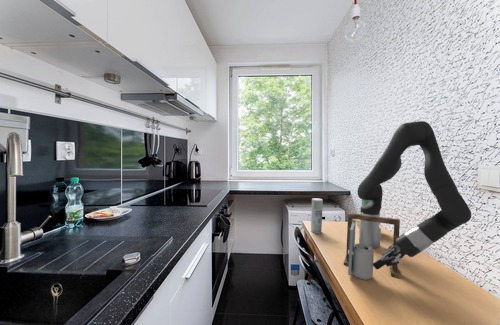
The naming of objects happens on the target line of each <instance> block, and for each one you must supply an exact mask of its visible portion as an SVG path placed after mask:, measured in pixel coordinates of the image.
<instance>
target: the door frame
mask: <svg viewBox="0 0 500 325" xmlns="http://www.w3.org/2000/svg"><path fill="white" fill-rule="evenodd" d="M353 219H358V220H365V221H372V222H379V223H381V224H387V225H393V237H392V238H393V240H392V246H395V245H397V243H396V241H395V239H396V238H398V237H399V236H400V227H401V226H400V225H401V220H400V219H399V218H392V217H386V216H385V217H384V216H380V217H378V216H371V215H363V214H360V213H355V212H347V228H346V229H347V231H346V232H347V233H346V250H345V254H346V255H345V257H344V260H343V265H344V266H348V267H349V254H348V250H349V243H350V228H351V225H352V222H353ZM398 265H399V264H396V265H392V266H389V270H390V271H389V274H390V273H391V274H390V276H391V275H392V276H391V277H395V276H396V278H399V277H400V276H401V274H400V269H399V266H398Z"/></svg>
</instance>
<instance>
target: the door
mask: <svg viewBox="0 0 500 325" xmlns="http://www.w3.org/2000/svg"><path fill="white" fill-rule="evenodd" d="M356 227H357V224H356V221H355V220H353V221H352V225H351V228H350V243H349V250H348V254H349V266H348V268H347V270H348V272H347V275H349V276H352V274H353V273H352V260H353V255H354V251H353V248H354V247H355V245H356V244H355V243H356V241H355V240H356Z"/></svg>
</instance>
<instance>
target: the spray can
mask: <svg viewBox="0 0 500 325" xmlns="http://www.w3.org/2000/svg"><path fill="white" fill-rule="evenodd" d="M323 201H324V200H323V199H322V198H319V197H318V198H316V197H315V198H311V212H310V213H311V215H310V216H311V218H310V220H311V221H310V231H311V232H312V233H315V234H320V233H322V231H323V230H322V228H323V227H322V225H323V208H324V207H323V204H324V203H323Z"/></svg>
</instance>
